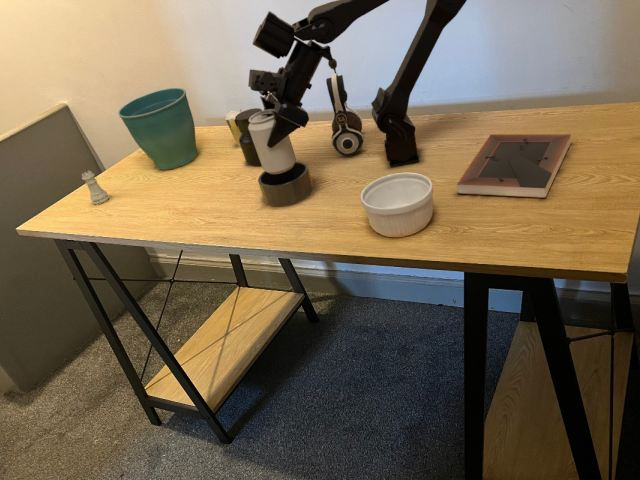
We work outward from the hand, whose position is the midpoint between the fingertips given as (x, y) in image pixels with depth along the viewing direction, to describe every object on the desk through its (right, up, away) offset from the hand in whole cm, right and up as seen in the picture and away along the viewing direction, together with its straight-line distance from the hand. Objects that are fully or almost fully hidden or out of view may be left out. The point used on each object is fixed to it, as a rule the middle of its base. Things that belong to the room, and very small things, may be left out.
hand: (265, 141), depth 120 cm
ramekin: (+28, -18, -12) cm, 35 cm away
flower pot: (-30, +5, +40) cm, 50 cm away
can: (+3, -5, +4) cm, 7 cm away
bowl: (+4, -10, +8) cm, 13 cm away
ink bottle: (-4, +2, +28) cm, 28 cm away
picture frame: (+51, -7, -5) cm, 51 cm away
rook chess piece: (-47, -8, +29) cm, 56 cm away
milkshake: (-12, +9, +39) cm, 42 cm away
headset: (+18, +4, +21) cm, 28 cm away
